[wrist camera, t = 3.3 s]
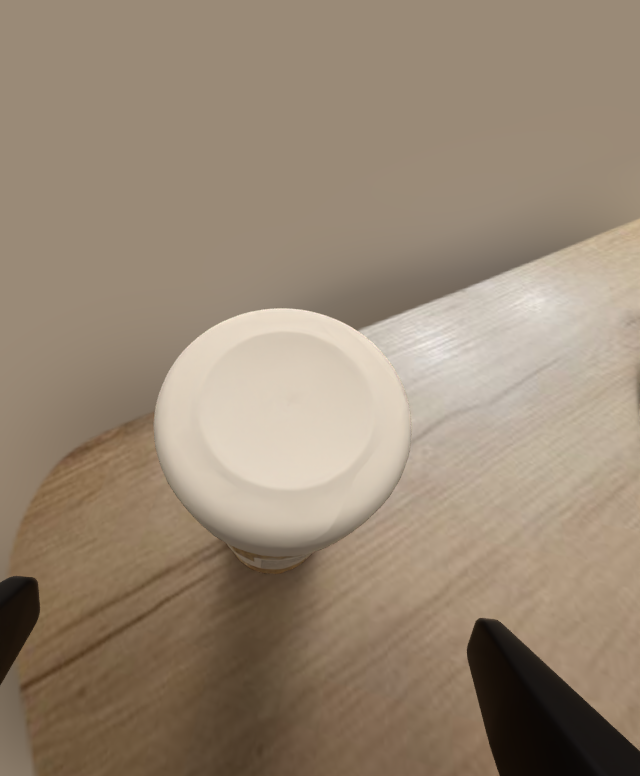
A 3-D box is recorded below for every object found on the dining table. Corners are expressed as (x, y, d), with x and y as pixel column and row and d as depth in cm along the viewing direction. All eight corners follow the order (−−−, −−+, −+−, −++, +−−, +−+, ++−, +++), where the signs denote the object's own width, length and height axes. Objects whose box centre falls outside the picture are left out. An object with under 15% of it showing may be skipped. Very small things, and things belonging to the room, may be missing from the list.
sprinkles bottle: (219, 489, 18) (136, 315, 7) (307, 467, 20) (368, 284, 8) (236, 590, 16) (160, 591, 5) (333, 559, 18) (465, 499, 6)
